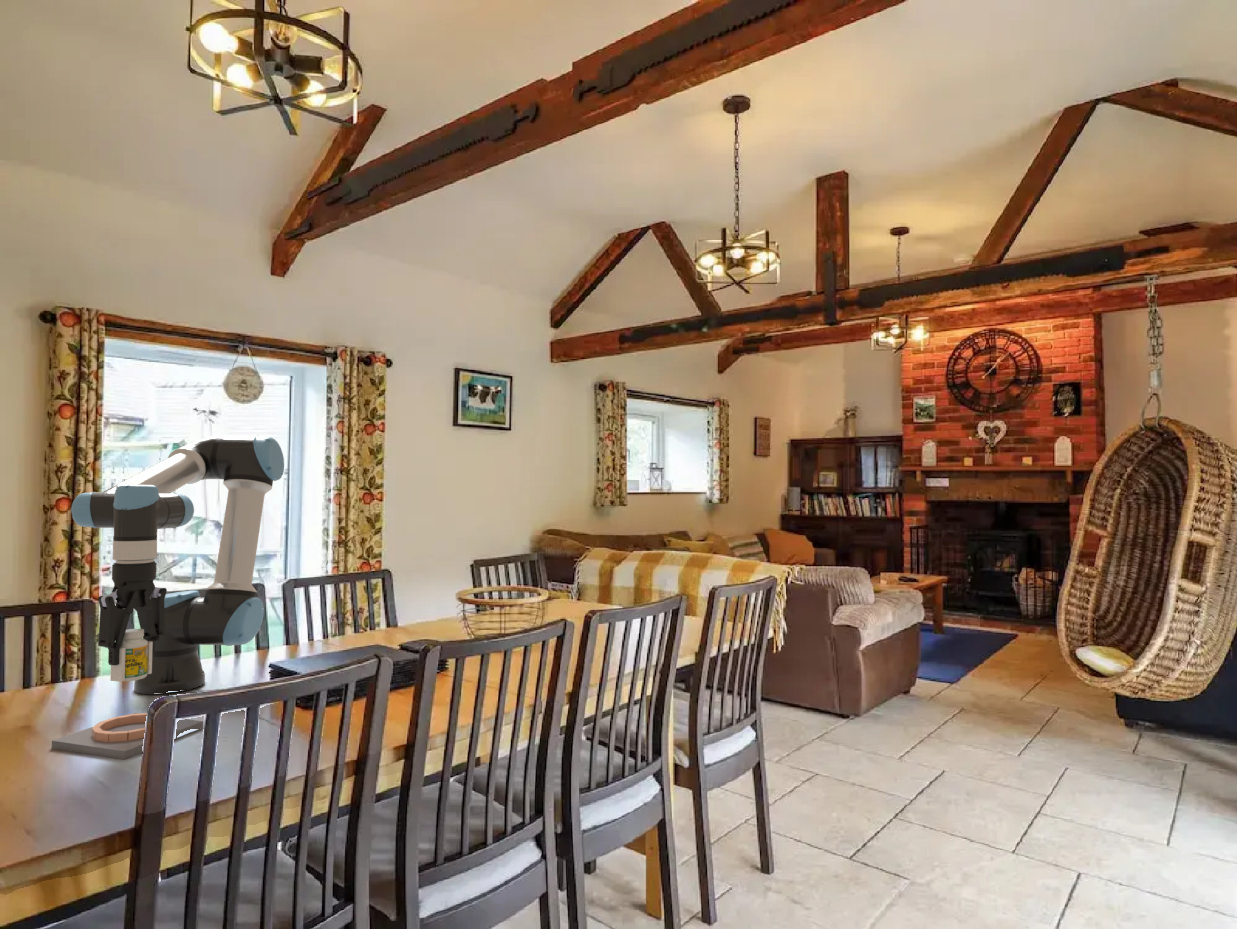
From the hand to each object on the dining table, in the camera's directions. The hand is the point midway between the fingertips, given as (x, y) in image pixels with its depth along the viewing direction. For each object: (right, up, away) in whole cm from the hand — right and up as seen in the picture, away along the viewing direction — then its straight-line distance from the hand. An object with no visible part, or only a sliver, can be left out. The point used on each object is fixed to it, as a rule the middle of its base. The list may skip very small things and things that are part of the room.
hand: (131, 676), depth 150 cm
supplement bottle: (0, -1, 0) cm, 1 cm away
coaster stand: (0, -12, 0) cm, 12 cm away
